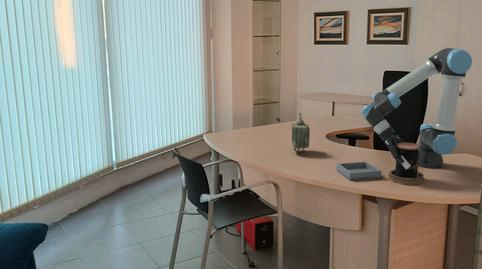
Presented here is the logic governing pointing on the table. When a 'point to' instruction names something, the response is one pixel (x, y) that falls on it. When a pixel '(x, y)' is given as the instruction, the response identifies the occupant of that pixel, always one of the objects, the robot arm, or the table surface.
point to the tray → (358, 171)
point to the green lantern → (300, 135)
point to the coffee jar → (408, 160)
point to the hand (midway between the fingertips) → (412, 165)
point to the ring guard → (406, 180)
